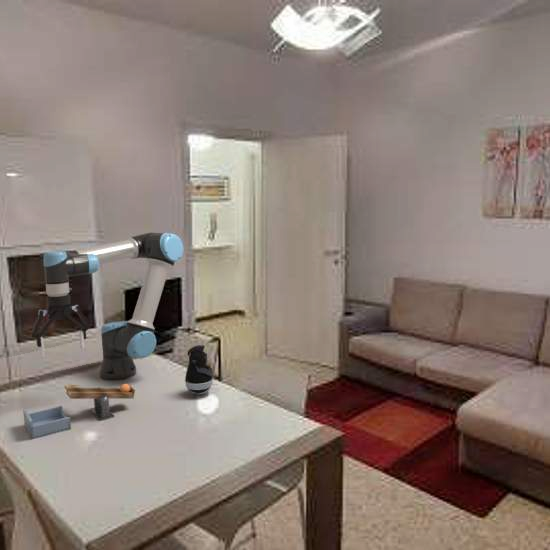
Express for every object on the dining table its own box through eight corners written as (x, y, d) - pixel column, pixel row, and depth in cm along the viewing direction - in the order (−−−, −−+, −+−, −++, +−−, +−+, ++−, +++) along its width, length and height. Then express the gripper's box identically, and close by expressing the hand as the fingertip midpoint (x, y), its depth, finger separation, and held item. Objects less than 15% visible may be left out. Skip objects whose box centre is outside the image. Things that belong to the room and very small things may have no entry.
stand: (104, 406, 182) (102, 385, 181) (114, 417, 173) (112, 395, 172) (90, 410, 179) (88, 389, 178) (99, 420, 170) (98, 398, 169)
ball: (128, 391, 183) (128, 382, 182) (131, 394, 180) (132, 385, 180) (118, 392, 181) (118, 383, 180) (121, 396, 178) (122, 386, 177)
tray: (62, 416, 174) (61, 400, 173) (70, 429, 164) (69, 411, 163) (24, 425, 167) (23, 409, 166) (31, 439, 157) (29, 421, 157)
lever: (121, 387, 190) (123, 379, 190) (133, 398, 179) (135, 389, 179) (61, 387, 177) (63, 378, 177) (70, 398, 166) (72, 389, 166)
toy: (211, 399, 187) (209, 348, 184) (183, 399, 188) (180, 348, 185) (215, 388, 198) (213, 340, 195) (188, 389, 198) (186, 340, 195)
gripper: (91, 288, 188) (95, 342, 191) (17, 297, 173) (23, 355, 177) (96, 291, 181) (100, 347, 185) (21, 300, 167) (27, 361, 171)
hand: (63, 351), depth 181 cm, fingers open, 13 cm apart
